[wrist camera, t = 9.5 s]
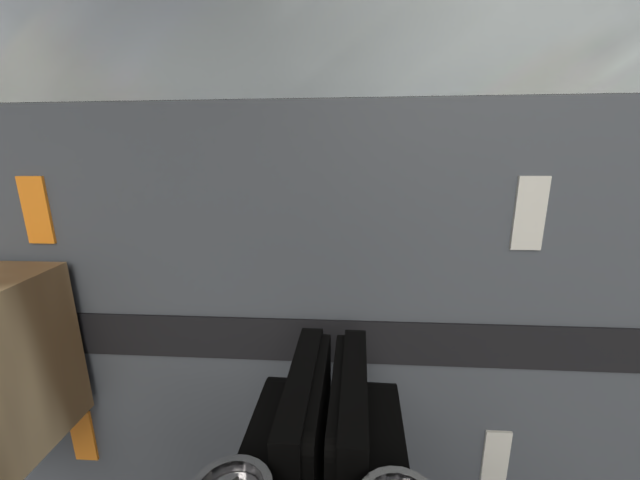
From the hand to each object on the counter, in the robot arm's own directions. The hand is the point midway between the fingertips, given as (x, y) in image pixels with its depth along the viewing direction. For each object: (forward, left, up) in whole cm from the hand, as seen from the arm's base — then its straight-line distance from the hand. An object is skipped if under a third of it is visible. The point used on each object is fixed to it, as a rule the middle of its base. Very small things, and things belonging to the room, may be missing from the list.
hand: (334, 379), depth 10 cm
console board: (+2, 0, -4) cm, 4 cm away
